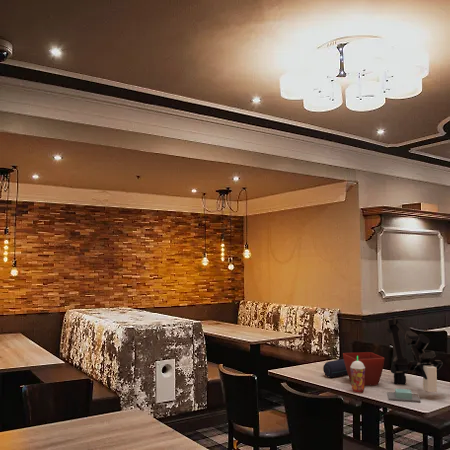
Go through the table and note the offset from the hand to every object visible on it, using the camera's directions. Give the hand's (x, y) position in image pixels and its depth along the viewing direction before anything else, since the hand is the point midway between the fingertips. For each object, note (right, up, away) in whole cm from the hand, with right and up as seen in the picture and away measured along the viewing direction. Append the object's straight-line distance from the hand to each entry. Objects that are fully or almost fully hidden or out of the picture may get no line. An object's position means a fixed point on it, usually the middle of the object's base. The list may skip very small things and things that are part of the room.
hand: (431, 378), depth 266 cm
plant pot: (-27, -13, +33) cm, 45 cm away
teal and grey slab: (-15, -11, +1) cm, 18 cm away
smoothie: (-36, -12, +15) cm, 40 cm away
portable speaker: (-37, -15, +54) cm, 67 cm away
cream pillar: (0, -7, +1) cm, 7 cm away
